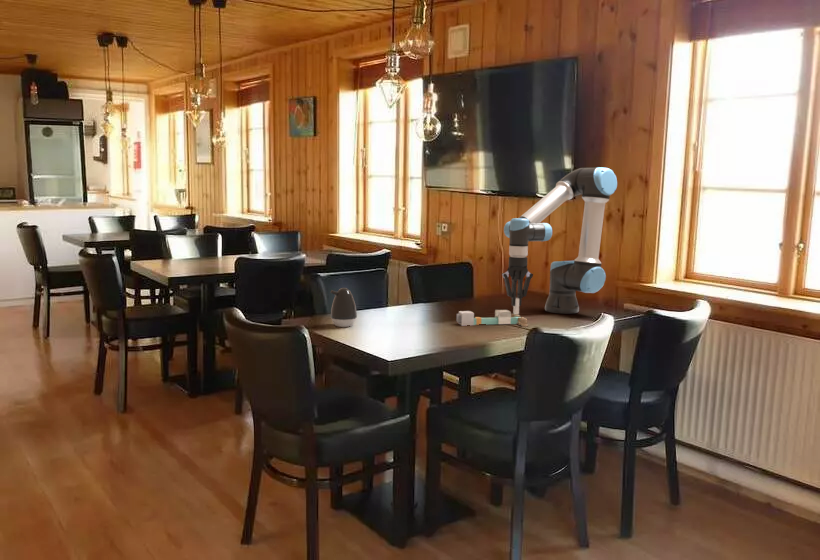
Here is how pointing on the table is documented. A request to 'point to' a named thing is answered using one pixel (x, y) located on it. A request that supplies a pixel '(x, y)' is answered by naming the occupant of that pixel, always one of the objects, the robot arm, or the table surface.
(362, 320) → the table surface
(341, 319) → the pump dispenser
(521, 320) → the comb
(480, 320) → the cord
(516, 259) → the robot arm
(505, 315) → the sleeve
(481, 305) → the table surface
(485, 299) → the table surface
